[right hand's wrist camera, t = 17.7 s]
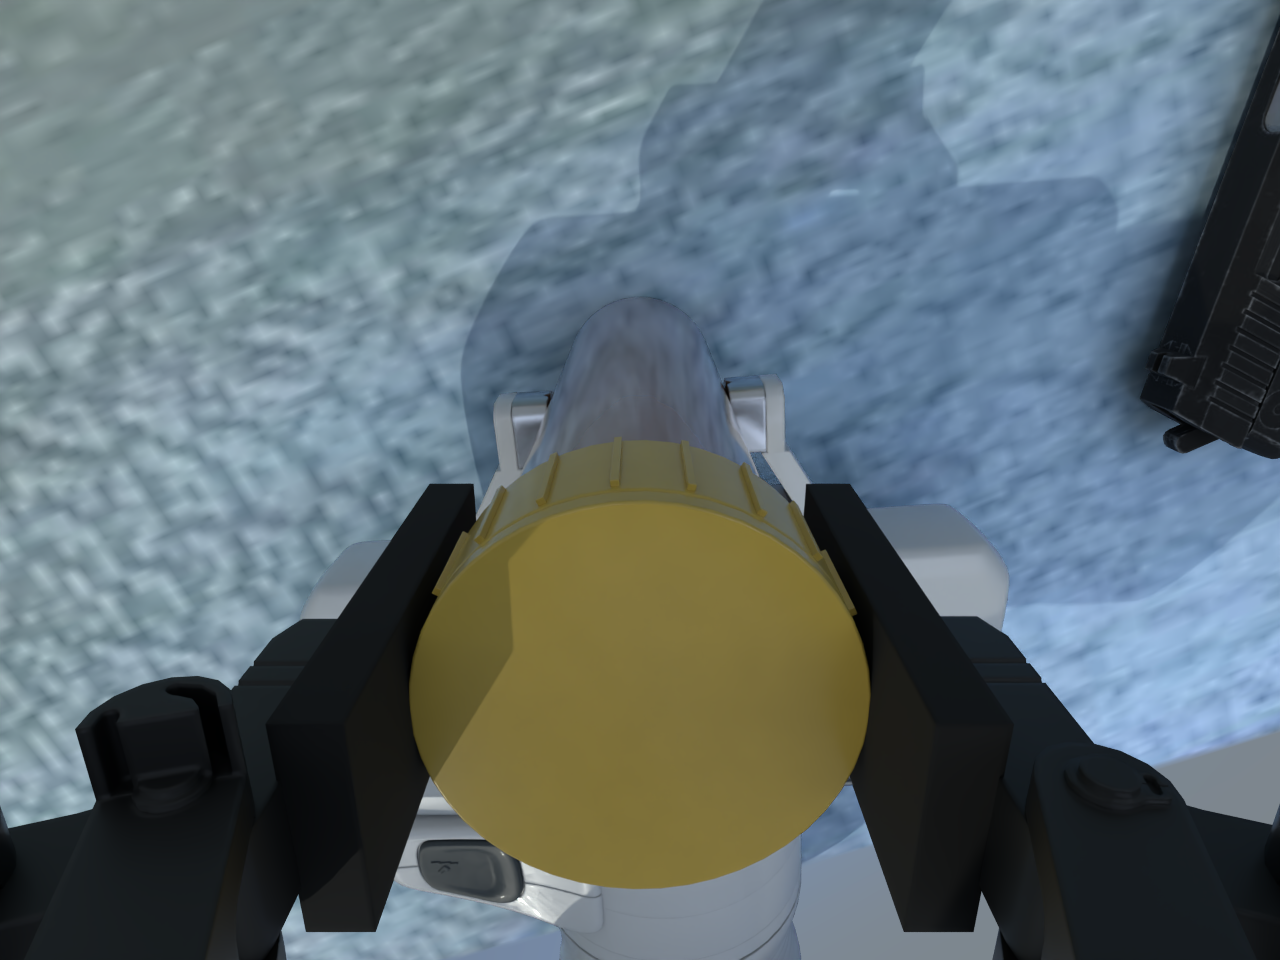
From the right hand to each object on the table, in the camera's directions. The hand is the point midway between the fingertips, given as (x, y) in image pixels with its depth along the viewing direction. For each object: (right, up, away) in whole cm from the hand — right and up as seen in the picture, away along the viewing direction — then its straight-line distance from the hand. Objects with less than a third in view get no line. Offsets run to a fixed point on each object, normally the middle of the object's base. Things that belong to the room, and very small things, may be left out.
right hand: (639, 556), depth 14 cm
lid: (0, -2, -4) cm, 4 cm away
